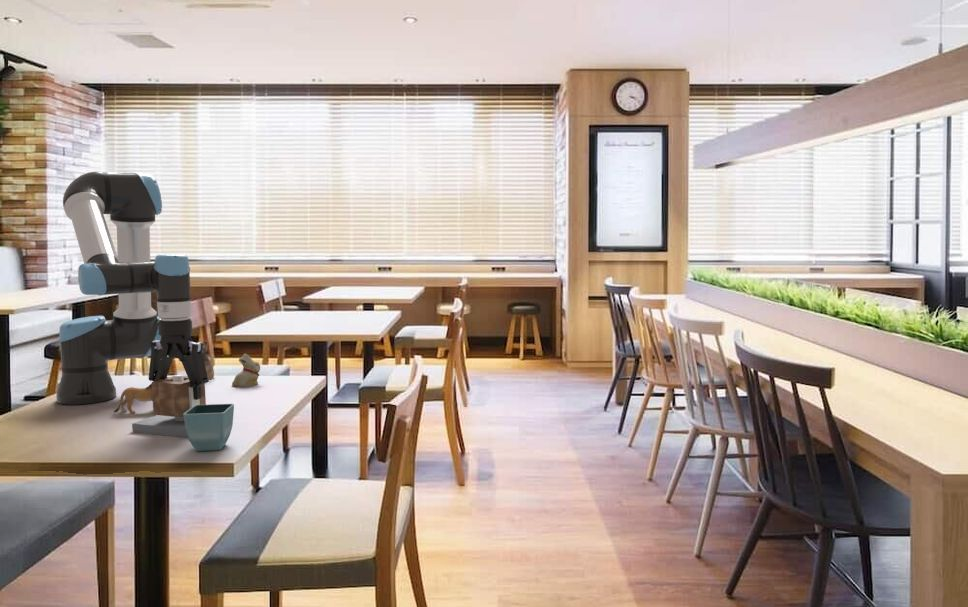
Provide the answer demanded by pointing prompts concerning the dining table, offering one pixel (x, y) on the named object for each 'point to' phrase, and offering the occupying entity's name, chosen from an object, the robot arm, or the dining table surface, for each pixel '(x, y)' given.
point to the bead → (173, 397)
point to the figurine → (207, 361)
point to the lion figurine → (134, 397)
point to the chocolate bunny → (247, 372)
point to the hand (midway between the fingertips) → (179, 410)
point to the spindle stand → (163, 422)
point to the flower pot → (209, 425)
